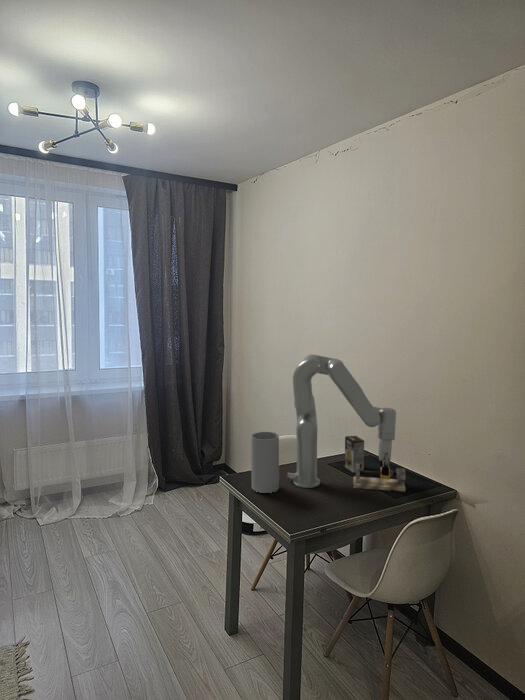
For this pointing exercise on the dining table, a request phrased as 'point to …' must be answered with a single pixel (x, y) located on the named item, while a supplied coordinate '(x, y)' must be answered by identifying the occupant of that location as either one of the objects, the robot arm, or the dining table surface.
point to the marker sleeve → (384, 475)
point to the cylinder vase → (265, 462)
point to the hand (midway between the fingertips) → (384, 471)
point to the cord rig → (380, 480)
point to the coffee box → (354, 453)
